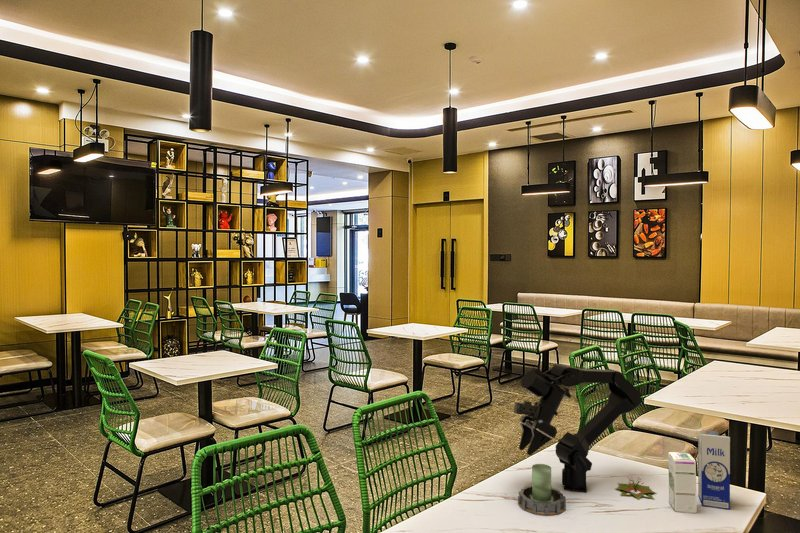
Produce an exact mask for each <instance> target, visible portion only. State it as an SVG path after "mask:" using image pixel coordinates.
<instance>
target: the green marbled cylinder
mask: <svg viewBox="0 0 800 533" xmlns="http://www.w3.org/2000/svg"><path fill="white" fill-rule="evenodd" d="M531 480H532V484H531V486H532V495H530V496H529V499H531V500H534V501H538V502H554V499H553V496H552V495H551V488H552V467H551V466H550V465H549V464H544V463H535V464H532V465H531Z"/></svg>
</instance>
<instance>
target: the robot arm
mask: <svg viewBox="0 0 800 533" xmlns="http://www.w3.org/2000/svg"><path fill="white" fill-rule="evenodd" d="M520 382H521V383H520V384H521V387H522V389H525V390H526V391H527V392H529V393H531V394H532V395H534V396H535V397H539V399H538V401H535V402H534V403H532V402H531V401H527V400H524V401H523V402H515V401H514V408H513V413H514V414H517V415H520V416H521V417H520V419H519V425H520V427H521V429H522V431H521V436H520V440H519V447H518V449H519V450H520V451H524V450H525V449H526V447H527V451H526V454H527V455H528V456H532V455H533V454H534V453H536V452H537V451H538V450H539V449H540V448H541V447H543V446H544V445H546V444H547V443H548V442H550V441H552V440H553V439H556V436H557V434H558V431H557V427H555V426H554V425H552V424H551V423H552V421H553V420H554V417H555V416H558V414H559V412H558V409H559V407H560V405H561V403H562V402H563V399H564V398H565V397H566V398H569V399H571V398H572V395H571V393H570V389H569V388H568V387H575V386H579V385H581V384H583V383H587V384H588V383H589V384H590V383H591V384H592V383H593V384H606V385H607V388H608V389H607V390H609V392H610V393H609V394H608V399H607V402H606V404H605V405H604V406H603V407H602V408H601V409H600V410H599V411H598V412H597V413H596V414H595V415H594V416H593V417H591V419H590V420H589V421H588V422H587V423H586V424H585V425H584V426H582V427H581V428H580V429H579V431H577V432H576V433H573V434H572V433H571V432H569V431H568V432H565V433H564V434H563V436H562V437H561V438H560V439H557V441H558V442H557V443H556V445H555V455H556V457H557V458H558V460H559V463H561V464H562V465H563V468H562V469H561V484H562V486H563V489H564V490H566V491H576V492H584V493H587V492H588V491H587V490H588V488H587V487H588V486H587V472H588V471H589V472H590V471H591V469H592V466H593V463H592V461H590V459H588V458H587V457H588V455H589V451H590V446H591V445H592V444H593V443H594V442H595V441H596V440H597V439H598V438H599V437H600V436H602V434H603V433H604V432H605V431H606V430H607V429H608V428H609V427H610V426H611V425H612V424H613V423H614V422H615V421H616V420H617V419H618V418H619V417H620V416H621V415H624V414H627V413H631V412H632V411H634V410H636V409H637V408H638V407H639V406H640V405H641V403H642V394H641V392H640V390H638V389H637V388H636V387H635V386H634V385H633V384H632V383H631V382H630V381H629V380H628V379H627V378H626V377H625V375H624V374H623V373H622V372H620V371H619V370H615V369H611V368H608V369H595V368H576V367H572V366H569V365H565V364H562V363H555V364H553V366H552V367H551V368H550V369H548V370H546V371H545V372H542V371H541V370H540V369H539V368H536V367H532V369H531V370H529V371H527V372H526V373H525V374H524V375H523V376H522V378H521V381H520ZM552 383H553V384H552ZM561 386H563V387H561Z"/></svg>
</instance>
